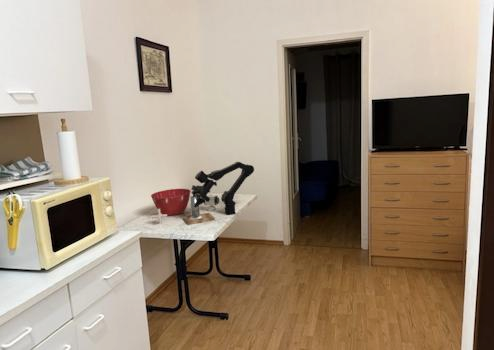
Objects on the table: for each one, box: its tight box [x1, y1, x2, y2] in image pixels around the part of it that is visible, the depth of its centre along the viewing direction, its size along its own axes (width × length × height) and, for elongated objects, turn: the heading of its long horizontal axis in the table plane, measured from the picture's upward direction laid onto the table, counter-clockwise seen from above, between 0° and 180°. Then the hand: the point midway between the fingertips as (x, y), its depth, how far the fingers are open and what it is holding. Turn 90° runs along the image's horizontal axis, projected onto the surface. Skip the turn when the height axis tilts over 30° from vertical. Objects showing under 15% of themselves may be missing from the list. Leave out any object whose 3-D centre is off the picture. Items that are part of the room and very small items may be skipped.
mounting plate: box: [183, 212, 216, 225], centre depth 253 cm, size 18×14×2 cm
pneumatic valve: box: [203, 194, 221, 212], centre depth 274 cm, size 6×12×12 cm, turn 70°
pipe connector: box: [151, 208, 168, 225], centre depth 250 cm, size 10×10×10 cm
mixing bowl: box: [150, 188, 192, 217], centre depth 274 cm, size 28×28×16 cm
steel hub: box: [189, 195, 201, 217], centre depth 251 cm, size 5×5×13 cm
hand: (193, 206), depth 250 cm, fingers closed on steel hub, 5 cm apart
